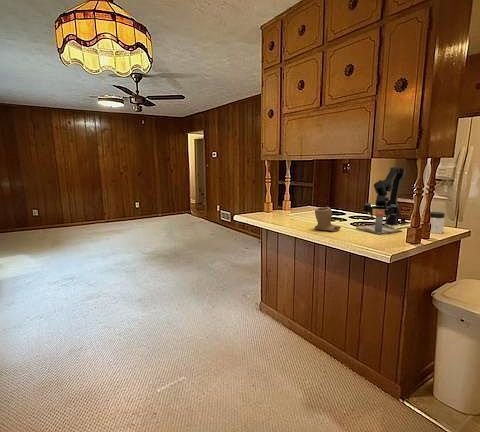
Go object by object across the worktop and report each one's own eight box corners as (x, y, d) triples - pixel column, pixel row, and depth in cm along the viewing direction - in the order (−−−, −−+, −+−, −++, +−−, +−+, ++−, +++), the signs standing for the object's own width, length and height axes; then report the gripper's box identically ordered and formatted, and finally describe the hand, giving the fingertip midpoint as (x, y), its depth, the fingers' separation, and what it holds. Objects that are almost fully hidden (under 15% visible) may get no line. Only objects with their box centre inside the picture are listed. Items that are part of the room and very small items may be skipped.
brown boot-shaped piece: (310, 230, 192) (311, 207, 189) (319, 227, 200) (320, 205, 197) (332, 233, 181) (333, 209, 179) (341, 230, 190) (342, 207, 187)
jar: (428, 233, 180) (430, 213, 178) (424, 230, 188) (426, 211, 186) (445, 233, 178) (447, 214, 175) (440, 231, 185) (442, 212, 183)
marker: (378, 230, 184) (379, 210, 181) (383, 231, 180) (385, 211, 177) (373, 231, 182) (374, 211, 180) (378, 232, 178) (379, 212, 176)
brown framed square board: (377, 226, 201) (377, 223, 201) (402, 231, 184) (402, 229, 184) (355, 228, 194) (355, 226, 194) (379, 235, 177) (379, 232, 177)
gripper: (365, 190, 185) (361, 210, 177) (399, 191, 176) (397, 212, 168) (365, 201, 193) (362, 220, 185) (398, 202, 184) (396, 223, 176)
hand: (379, 219), depth 178 cm, fingers open, 7 cm apart
